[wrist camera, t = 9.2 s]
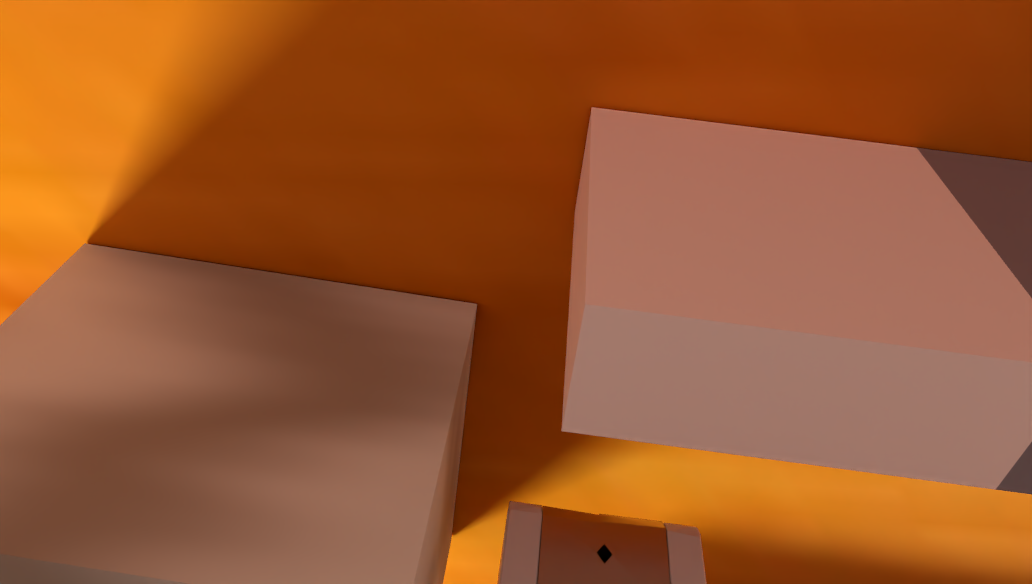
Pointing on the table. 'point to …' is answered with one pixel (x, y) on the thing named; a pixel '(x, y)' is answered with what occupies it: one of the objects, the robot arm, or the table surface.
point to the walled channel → (802, 300)
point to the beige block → (227, 427)
